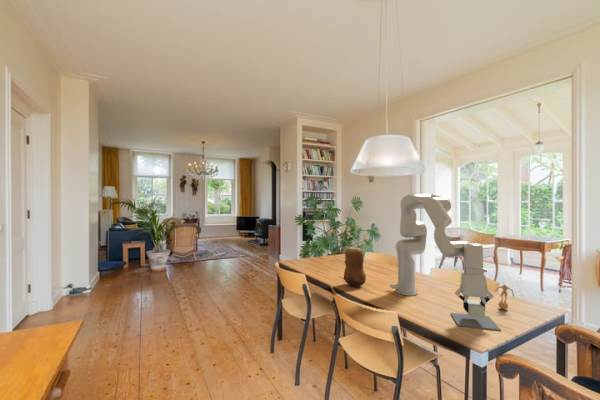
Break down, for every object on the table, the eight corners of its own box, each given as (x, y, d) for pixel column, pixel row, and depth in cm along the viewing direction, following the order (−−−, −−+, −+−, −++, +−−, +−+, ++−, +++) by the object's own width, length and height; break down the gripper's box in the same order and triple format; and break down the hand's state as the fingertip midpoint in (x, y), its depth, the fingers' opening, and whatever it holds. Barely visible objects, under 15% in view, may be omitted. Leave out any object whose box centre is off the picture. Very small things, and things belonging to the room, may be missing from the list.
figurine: (492, 307, 142) (491, 284, 142) (497, 304, 146) (496, 281, 146) (511, 312, 136) (511, 288, 136) (516, 309, 139) (515, 285, 139)
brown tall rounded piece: (362, 282, 188) (362, 245, 188) (368, 289, 174) (367, 248, 174) (342, 283, 187) (341, 245, 187) (346, 289, 174) (345, 249, 174)
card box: (464, 309, 131) (464, 299, 131) (477, 310, 129) (477, 300, 130) (470, 316, 122) (470, 306, 122) (484, 318, 121) (484, 307, 121)
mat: (458, 326, 122) (458, 325, 122) (450, 313, 135) (450, 312, 135) (500, 331, 117) (500, 329, 117) (488, 317, 130) (488, 316, 130)
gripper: (492, 270, 127) (493, 310, 127) (450, 268, 132) (451, 306, 132) (498, 274, 120) (499, 316, 120) (454, 271, 125) (454, 312, 125)
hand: (474, 310), depth 126 cm, fingers closed on card box, 5 cm apart
